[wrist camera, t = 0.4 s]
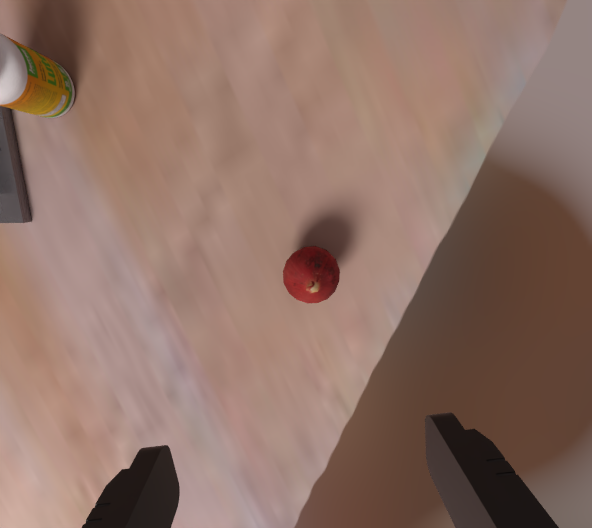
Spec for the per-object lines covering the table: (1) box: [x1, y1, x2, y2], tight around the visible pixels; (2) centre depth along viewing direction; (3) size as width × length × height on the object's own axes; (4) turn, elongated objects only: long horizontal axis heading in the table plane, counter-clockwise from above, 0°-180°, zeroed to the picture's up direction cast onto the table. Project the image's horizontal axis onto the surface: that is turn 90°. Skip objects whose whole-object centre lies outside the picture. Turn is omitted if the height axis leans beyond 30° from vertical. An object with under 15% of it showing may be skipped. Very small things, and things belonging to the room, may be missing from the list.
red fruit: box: [283, 246, 340, 303], centre depth 34 cm, size 6×6×8 cm
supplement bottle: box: [0, 33, 75, 118], centre depth 28 cm, size 5×5×10 cm
